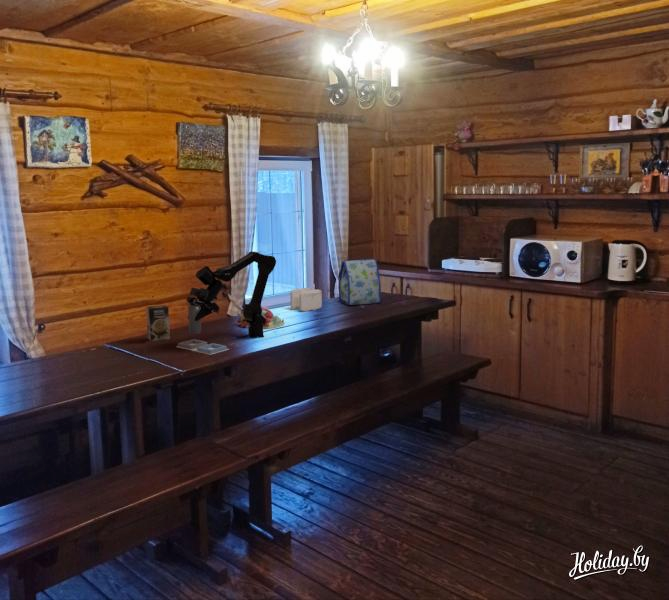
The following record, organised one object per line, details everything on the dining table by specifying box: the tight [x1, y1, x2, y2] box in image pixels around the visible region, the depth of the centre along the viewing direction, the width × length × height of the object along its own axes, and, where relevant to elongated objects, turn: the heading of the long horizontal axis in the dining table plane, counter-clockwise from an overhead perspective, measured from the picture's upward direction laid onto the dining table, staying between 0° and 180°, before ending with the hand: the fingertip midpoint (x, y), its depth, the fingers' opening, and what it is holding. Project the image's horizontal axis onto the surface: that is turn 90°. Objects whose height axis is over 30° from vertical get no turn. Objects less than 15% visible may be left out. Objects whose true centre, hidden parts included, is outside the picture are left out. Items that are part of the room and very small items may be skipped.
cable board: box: [175, 338, 230, 357], centre depth 298 cm, size 23×11×2 cm, turn 52°
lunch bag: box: [338, 258, 382, 306], centre depth 401 cm, size 22×17×26 cm
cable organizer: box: [289, 287, 323, 313], centre depth 384 cm, size 15×11×12 cm
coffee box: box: [146, 304, 171, 342], centre depth 316 cm, size 9×6×16 cm
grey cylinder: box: [187, 304, 202, 335], centre depth 298 cm, size 5×5×12 cm
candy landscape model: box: [236, 305, 286, 330], centre depth 349 cm, size 25×24×9 cm
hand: (191, 319), depth 297 cm, fingers closed on grey cylinder, 5 cm apart
